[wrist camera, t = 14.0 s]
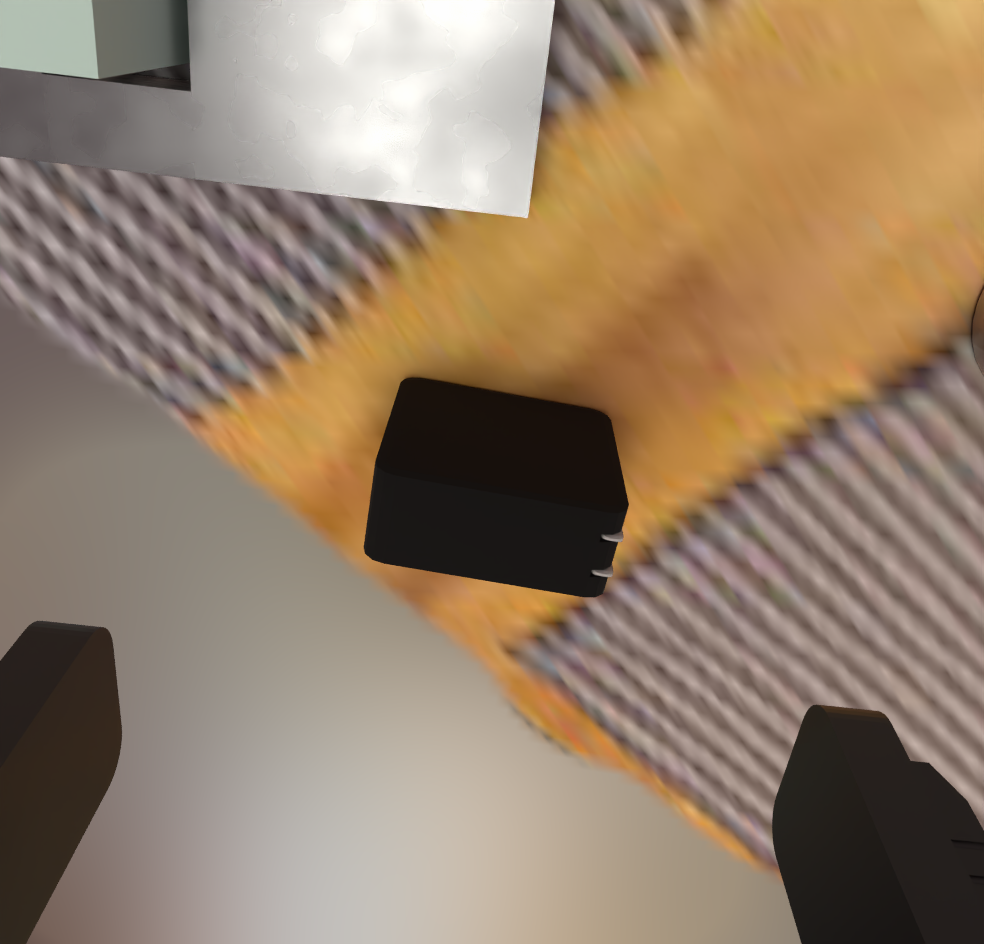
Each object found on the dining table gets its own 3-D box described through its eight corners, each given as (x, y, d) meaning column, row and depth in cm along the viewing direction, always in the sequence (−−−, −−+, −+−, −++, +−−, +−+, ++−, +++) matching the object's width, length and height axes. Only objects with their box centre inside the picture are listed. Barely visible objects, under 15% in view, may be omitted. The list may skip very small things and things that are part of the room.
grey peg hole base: (568, -130, 34) (572, -144, 30) (527, 200, 39) (528, 217, 36) (-30, -205, 33) (-88, -226, 30) (14, 140, 39) (-31, 152, 35)
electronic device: (403, 372, 43) (372, 469, 34) (609, 410, 43) (631, 514, 35) (392, 450, 45) (359, 561, 36) (589, 485, 45) (606, 603, 36)
